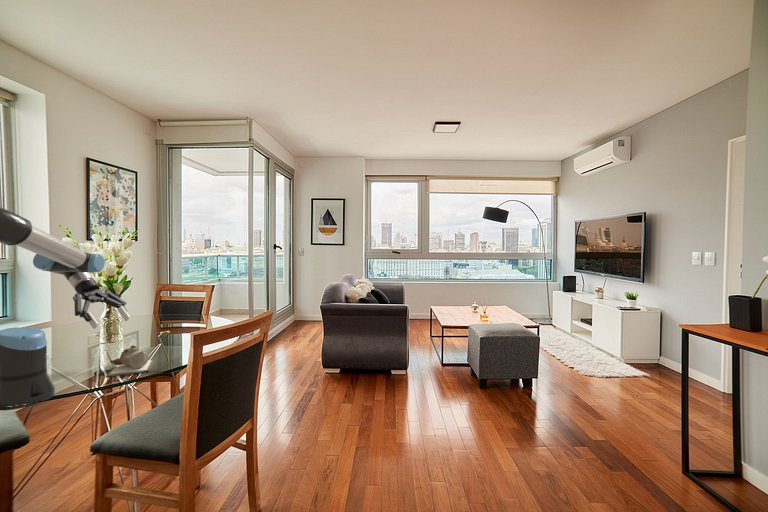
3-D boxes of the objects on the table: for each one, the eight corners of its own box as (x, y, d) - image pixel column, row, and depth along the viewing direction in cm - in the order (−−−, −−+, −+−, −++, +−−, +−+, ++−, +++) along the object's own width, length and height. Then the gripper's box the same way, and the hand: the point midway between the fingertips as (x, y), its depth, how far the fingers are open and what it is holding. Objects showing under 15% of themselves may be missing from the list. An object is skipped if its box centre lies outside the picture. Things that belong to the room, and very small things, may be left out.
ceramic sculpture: (127, 350, 143) (107, 346, 150) (128, 373, 143) (108, 368, 150) (155, 344, 153) (135, 340, 160) (156, 365, 153) (136, 360, 160)
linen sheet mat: (106, 376, 142) (106, 374, 142) (115, 364, 155) (115, 362, 155) (148, 372, 147) (148, 370, 147) (154, 360, 160) (154, 359, 160)
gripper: (108, 286, 168) (135, 321, 165) (46, 294, 144) (76, 336, 141) (117, 275, 167) (144, 311, 164) (56, 281, 143) (86, 323, 140)
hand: (112, 322), depth 153 cm, fingers open, 13 cm apart
